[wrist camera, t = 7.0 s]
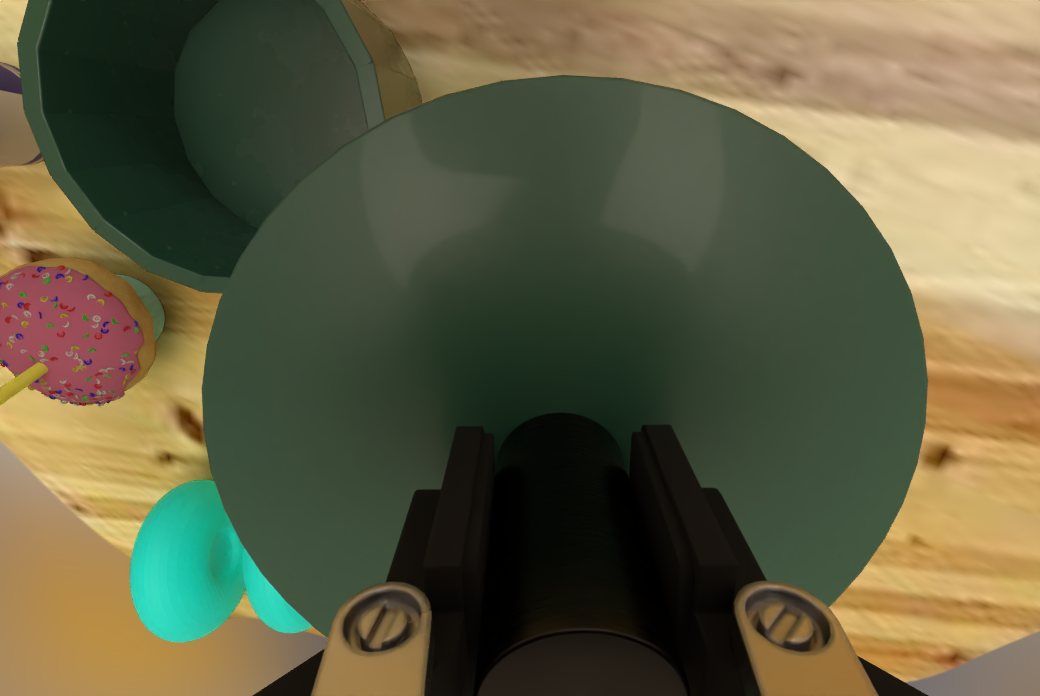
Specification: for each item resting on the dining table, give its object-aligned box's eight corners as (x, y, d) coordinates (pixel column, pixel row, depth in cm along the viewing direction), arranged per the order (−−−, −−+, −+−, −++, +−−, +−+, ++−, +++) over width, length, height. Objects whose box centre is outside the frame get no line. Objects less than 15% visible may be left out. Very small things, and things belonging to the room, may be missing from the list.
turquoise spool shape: (193, 453, 40) (90, 553, 30) (329, 439, 39) (267, 537, 30) (236, 562, 43) (157, 681, 34) (361, 551, 43) (315, 669, 33)
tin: (112, 26, 30) (-64, -17, 21) (367, -73, 28) (292, -166, 19) (240, 280, 35) (141, 332, 26) (462, 210, 33) (437, 240, 24)
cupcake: (198, 377, 37) (57, 483, 26) (70, 362, 37) (-128, 462, 26) (186, 251, 34) (20, 311, 23) (46, 234, 34) (-192, 285, 23)
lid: (98, 212, 12) (-412, 309, 5) (874, -37, 10) (1495, -339, 3) (374, 713, 17) (284, 1053, 11) (905, 612, 15) (1169, 949, 9)
